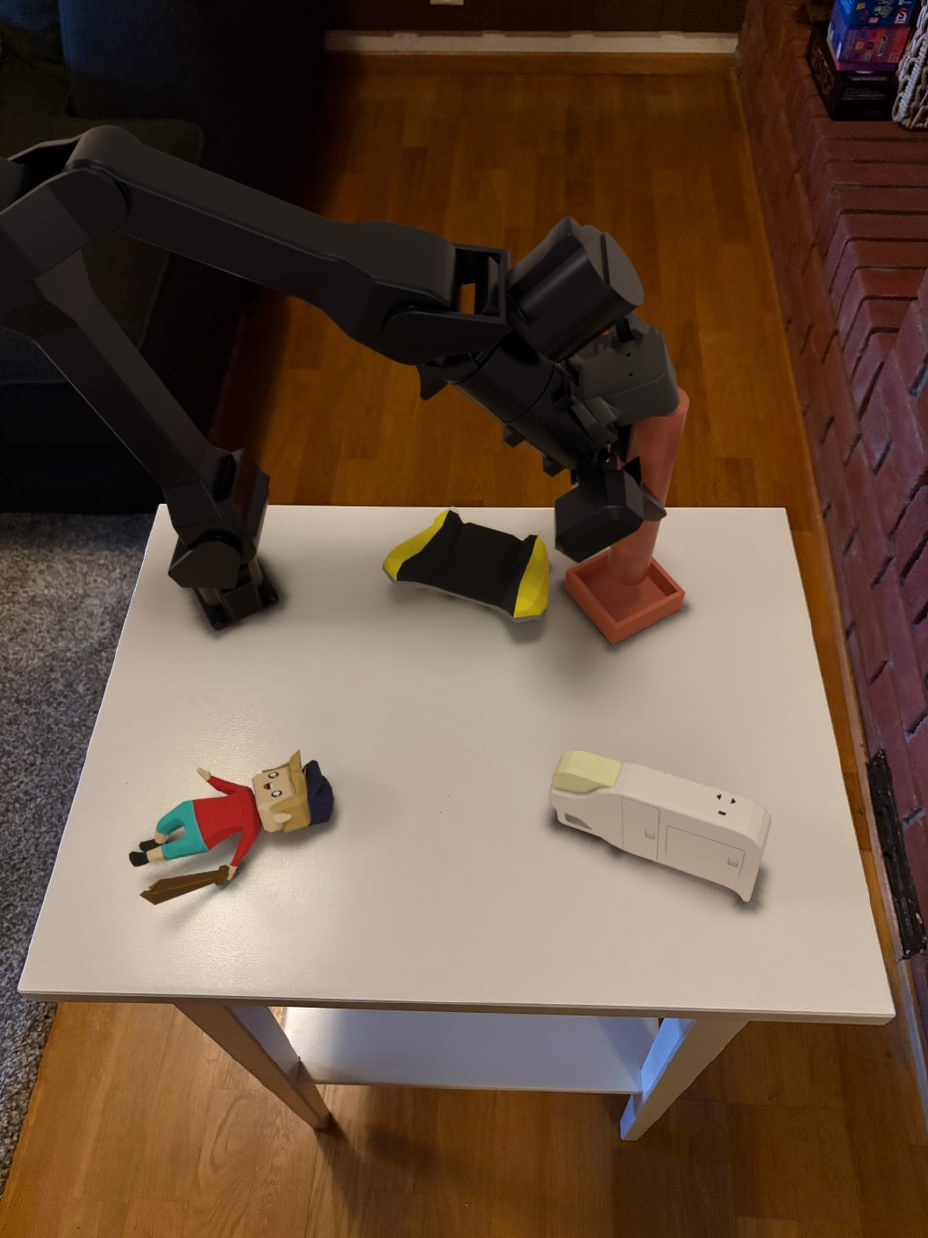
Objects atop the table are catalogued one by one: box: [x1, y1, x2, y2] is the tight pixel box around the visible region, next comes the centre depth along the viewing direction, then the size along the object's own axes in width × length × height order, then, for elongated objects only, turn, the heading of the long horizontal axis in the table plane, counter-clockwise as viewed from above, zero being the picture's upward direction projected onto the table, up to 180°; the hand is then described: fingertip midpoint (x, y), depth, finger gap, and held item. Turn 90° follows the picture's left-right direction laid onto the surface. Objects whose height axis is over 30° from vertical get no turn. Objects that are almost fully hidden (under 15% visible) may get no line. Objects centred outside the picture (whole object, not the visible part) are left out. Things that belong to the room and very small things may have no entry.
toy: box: [128, 748, 335, 906], centre depth 64 cm, size 9×6×15 cm
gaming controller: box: [382, 505, 550, 624], centre depth 78 cm, size 15×6×10 cm
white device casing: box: [548, 750, 772, 903], centre depth 62 cm, size 11×3×15 cm
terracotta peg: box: [606, 386, 690, 586], centre depth 68 cm, size 4×4×19 cm
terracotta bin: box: [564, 548, 686, 646], centre depth 78 cm, size 8×8×2 cm
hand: (659, 498), depth 68 cm, fingers closed on terracotta peg, 3 cm apart
